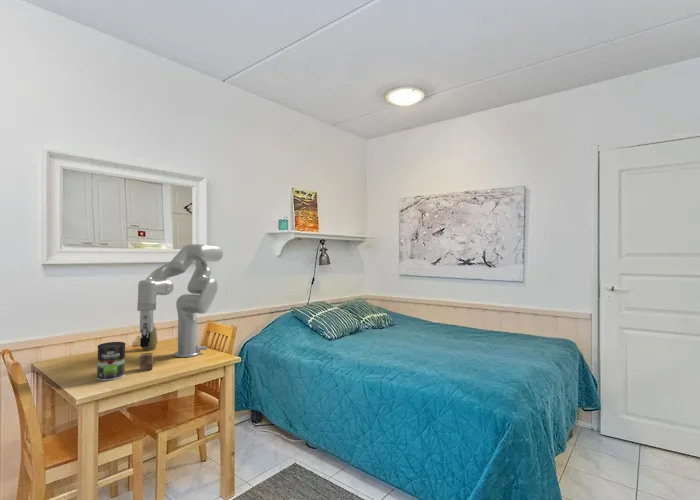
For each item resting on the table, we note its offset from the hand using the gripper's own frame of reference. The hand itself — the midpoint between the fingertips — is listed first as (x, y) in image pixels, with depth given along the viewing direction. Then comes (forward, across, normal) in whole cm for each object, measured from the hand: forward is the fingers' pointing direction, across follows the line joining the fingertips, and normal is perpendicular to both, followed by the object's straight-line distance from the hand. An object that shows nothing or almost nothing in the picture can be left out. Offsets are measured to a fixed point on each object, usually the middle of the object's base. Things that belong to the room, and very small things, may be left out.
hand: (145, 344), depth 176 cm
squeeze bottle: (+11, +39, 0) cm, 40 cm away
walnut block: (+12, +1, -1) cm, 12 cm away
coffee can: (+12, -5, +12) cm, 18 cm away
